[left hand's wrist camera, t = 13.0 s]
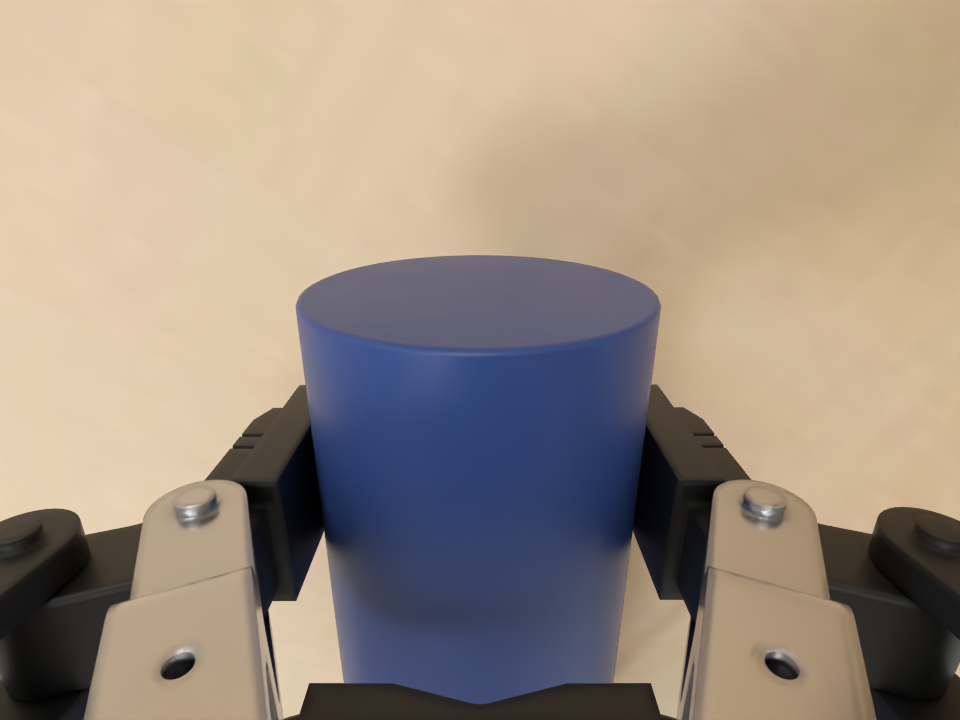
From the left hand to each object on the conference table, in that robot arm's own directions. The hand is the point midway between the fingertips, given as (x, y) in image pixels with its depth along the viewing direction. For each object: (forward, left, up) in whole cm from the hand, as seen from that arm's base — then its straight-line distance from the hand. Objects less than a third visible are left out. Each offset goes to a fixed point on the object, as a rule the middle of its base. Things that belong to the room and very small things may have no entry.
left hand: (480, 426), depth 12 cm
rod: (+9, +2, -1) cm, 10 cm away
